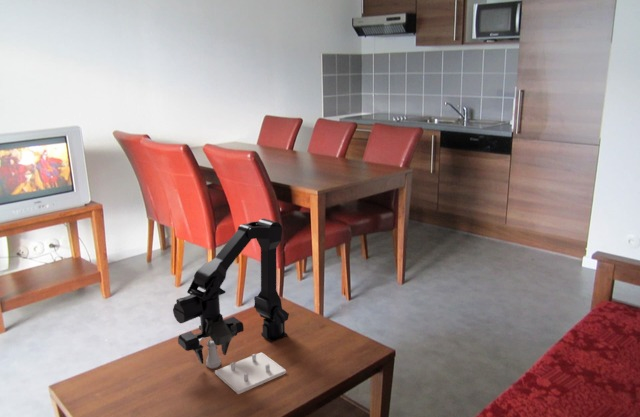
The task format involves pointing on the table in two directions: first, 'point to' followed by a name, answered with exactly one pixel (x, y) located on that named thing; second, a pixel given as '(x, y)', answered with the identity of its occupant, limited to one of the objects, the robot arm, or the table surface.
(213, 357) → the rook chess piece
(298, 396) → the table surface
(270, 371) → the peg board
